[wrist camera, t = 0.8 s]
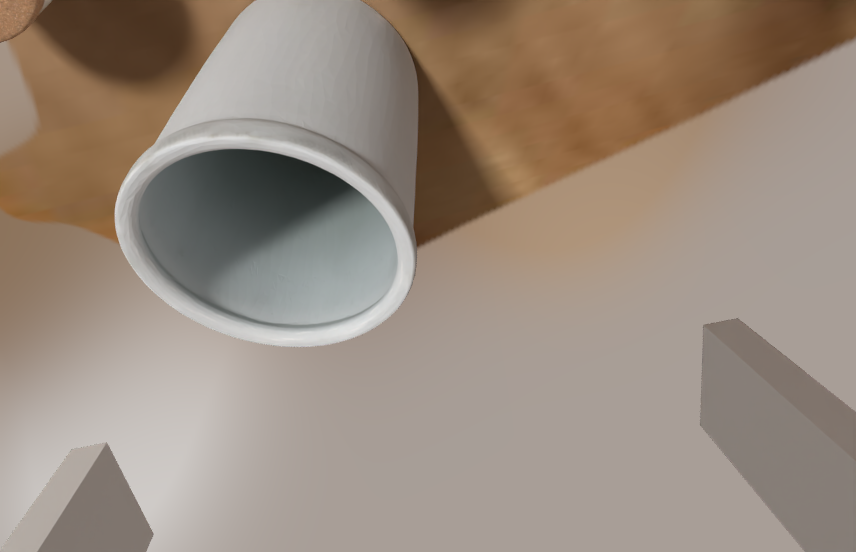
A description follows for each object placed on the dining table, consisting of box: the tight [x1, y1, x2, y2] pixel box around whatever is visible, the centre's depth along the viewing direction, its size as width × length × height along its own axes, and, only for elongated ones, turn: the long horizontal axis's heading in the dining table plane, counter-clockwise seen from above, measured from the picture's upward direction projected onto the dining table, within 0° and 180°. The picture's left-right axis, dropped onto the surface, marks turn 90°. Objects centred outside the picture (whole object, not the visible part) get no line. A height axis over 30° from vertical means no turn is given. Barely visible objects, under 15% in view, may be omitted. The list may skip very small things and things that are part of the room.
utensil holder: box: [115, 0, 418, 347], centre depth 35 cm, size 15×15×18 cm
